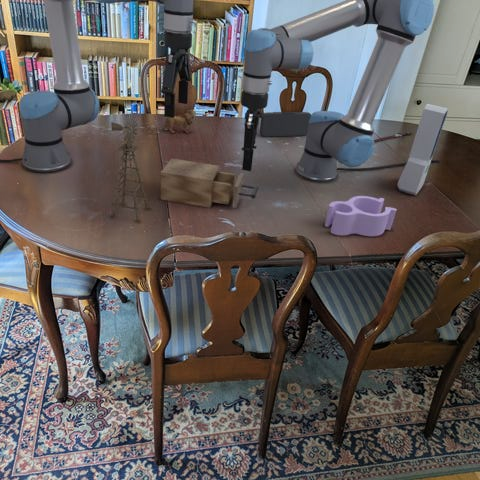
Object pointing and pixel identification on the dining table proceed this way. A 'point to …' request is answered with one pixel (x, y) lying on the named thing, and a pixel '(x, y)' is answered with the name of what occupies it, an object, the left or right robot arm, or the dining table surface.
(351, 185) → the dining table surface
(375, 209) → the clip
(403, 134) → the sword
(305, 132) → the handheld gaming console
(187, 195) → the cabinet
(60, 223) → the dining table surface
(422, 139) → the electronic device
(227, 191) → the drawer
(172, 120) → the lion figurine
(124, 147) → the miniature windmill
